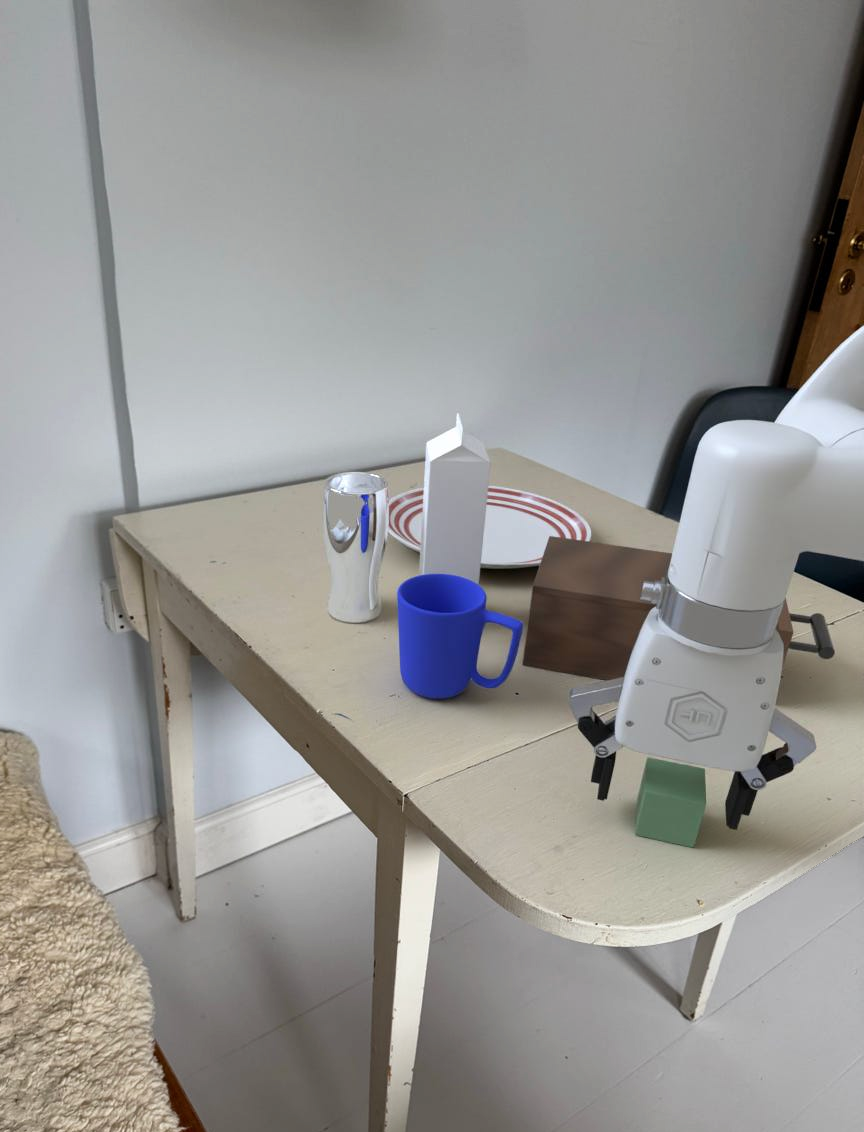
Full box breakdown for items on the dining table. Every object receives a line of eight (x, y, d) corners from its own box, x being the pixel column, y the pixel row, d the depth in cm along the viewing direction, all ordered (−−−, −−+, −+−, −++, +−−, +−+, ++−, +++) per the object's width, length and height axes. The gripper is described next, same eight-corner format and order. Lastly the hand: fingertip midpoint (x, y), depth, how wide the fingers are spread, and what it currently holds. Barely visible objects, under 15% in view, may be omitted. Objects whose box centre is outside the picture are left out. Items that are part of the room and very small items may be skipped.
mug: (494, 730, 78) (505, 635, 73) (377, 691, 83) (381, 599, 78) (527, 687, 85) (539, 596, 79) (416, 653, 89) (422, 565, 84)
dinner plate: (487, 489, 131) (489, 467, 130) (632, 552, 113) (637, 529, 111) (338, 528, 116) (338, 505, 115) (477, 609, 98) (480, 583, 96)
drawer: (808, 648, 91) (829, 586, 87) (823, 707, 82) (847, 640, 78) (633, 620, 95) (645, 559, 92) (628, 673, 86) (641, 608, 82)
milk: (419, 629, 94) (430, 429, 83) (416, 603, 99) (426, 411, 88) (475, 630, 94) (493, 430, 83) (470, 603, 99) (486, 412, 88)
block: (693, 811, 70) (705, 768, 68) (693, 848, 66) (706, 803, 64) (637, 799, 71) (647, 756, 69) (634, 835, 67) (645, 791, 65)
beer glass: (359, 631, 93) (362, 499, 85) (310, 611, 96) (308, 482, 89) (397, 608, 98) (403, 481, 90) (349, 589, 101) (351, 466, 94)
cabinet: (672, 631, 95) (689, 555, 91) (670, 691, 85) (690, 610, 80) (539, 609, 99) (549, 535, 94) (522, 665, 88) (532, 585, 84)
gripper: (584, 611, 58) (548, 808, 66) (866, 660, 54) (788, 863, 62) (593, 566, 64) (559, 751, 72) (847, 607, 60) (778, 797, 69)
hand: (665, 803), depth 67 cm, fingers open, 9 cm apart
